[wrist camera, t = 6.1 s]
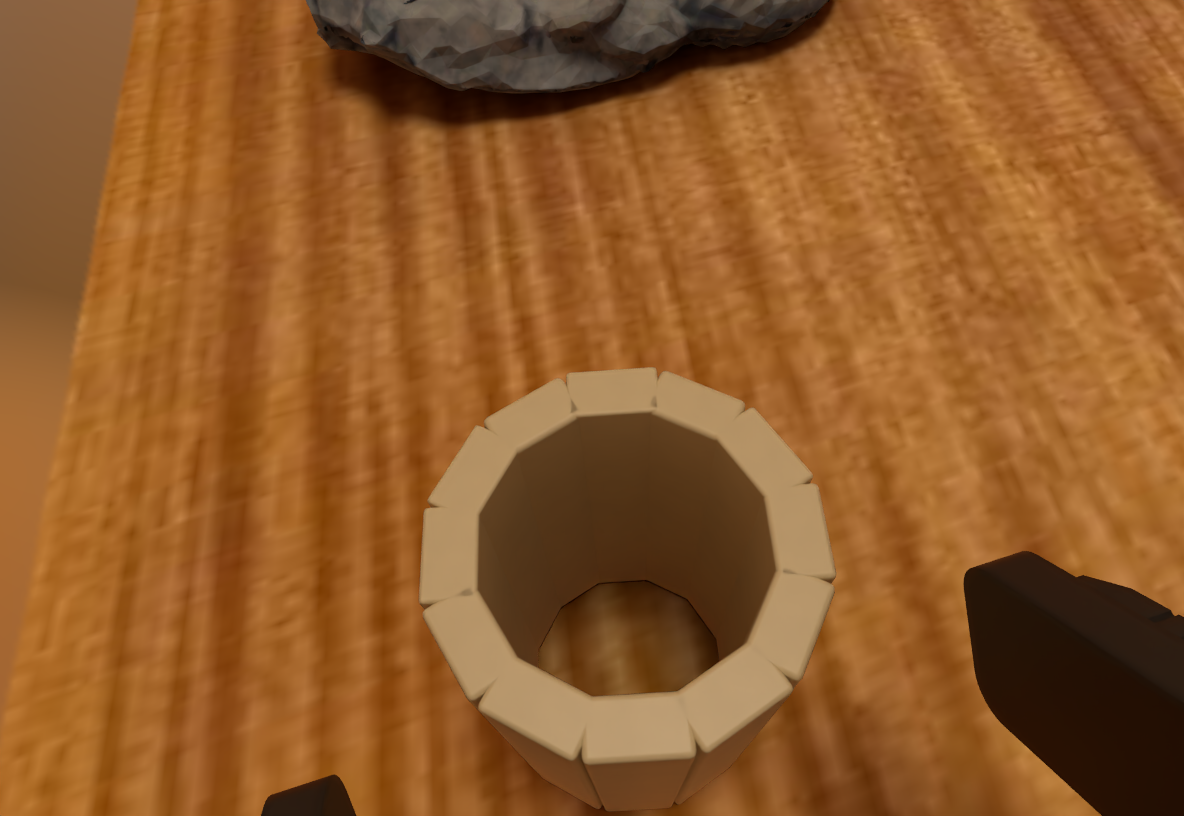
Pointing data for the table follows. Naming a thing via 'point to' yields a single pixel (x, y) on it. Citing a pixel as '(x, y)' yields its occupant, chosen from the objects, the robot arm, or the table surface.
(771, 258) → the table surface
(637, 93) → the table surface
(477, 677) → the faceted pencil cup
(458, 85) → the fossil
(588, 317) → the table surface
